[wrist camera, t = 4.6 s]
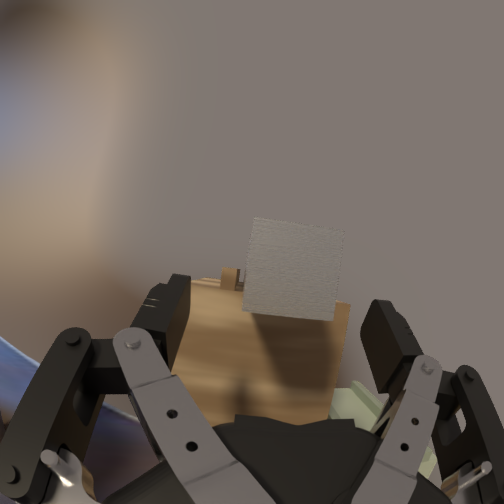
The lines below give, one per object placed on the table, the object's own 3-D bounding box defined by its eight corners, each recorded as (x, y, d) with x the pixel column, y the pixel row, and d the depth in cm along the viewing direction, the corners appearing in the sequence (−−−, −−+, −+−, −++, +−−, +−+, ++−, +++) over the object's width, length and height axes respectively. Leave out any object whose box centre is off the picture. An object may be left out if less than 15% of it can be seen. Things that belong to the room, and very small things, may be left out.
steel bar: (332, 321, 11) (344, 230, 11) (241, 311, 11) (254, 217, 11) (272, 286, 35) (276, 257, 35) (243, 282, 35) (247, 253, 35)
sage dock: (365, 568, 15) (442, 447, 17) (287, 579, 15) (344, 465, 16) (331, 488, 35) (365, 380, 37) (273, 489, 35) (299, 379, 36)
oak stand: (272, 566, 18) (353, 283, 20) (171, 557, 17) (182, 261, 20) (265, 498, 33) (308, 278, 35) (188, 490, 32) (208, 264, 35)
